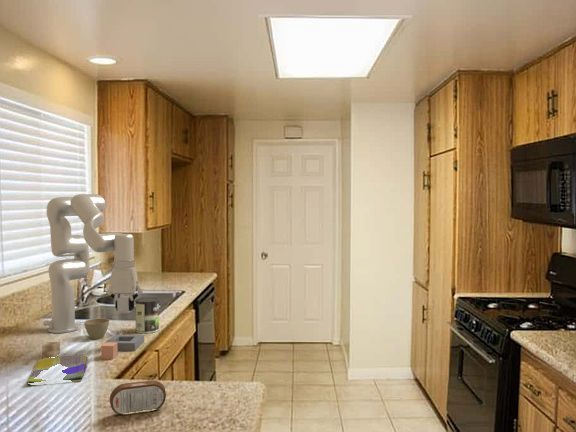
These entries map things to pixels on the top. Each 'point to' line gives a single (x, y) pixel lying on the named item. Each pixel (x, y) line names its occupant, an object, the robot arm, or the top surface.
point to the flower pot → (96, 327)
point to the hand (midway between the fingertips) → (124, 309)
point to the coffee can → (147, 315)
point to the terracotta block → (109, 350)
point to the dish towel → (73, 362)
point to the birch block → (50, 349)
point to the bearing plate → (127, 342)
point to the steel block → (123, 304)
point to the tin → (137, 396)
